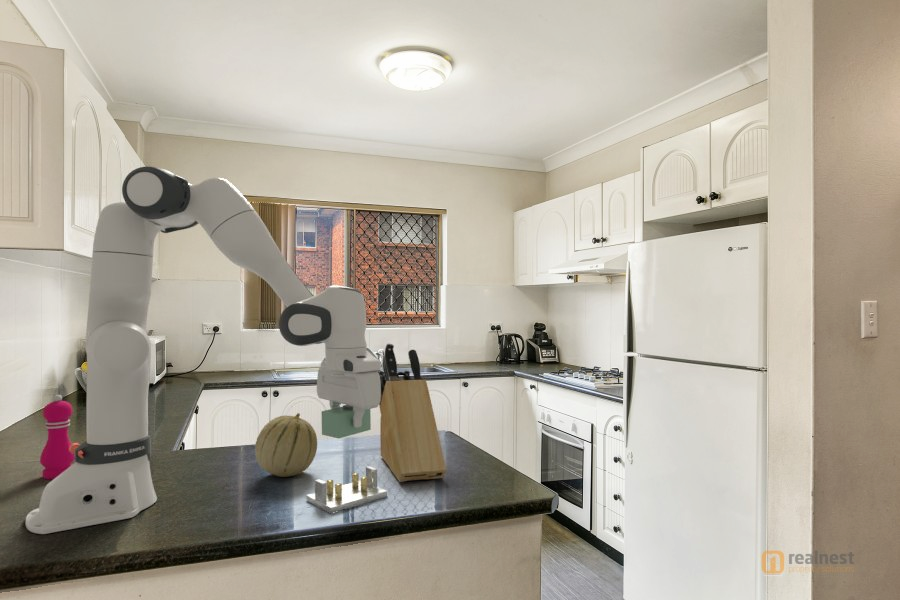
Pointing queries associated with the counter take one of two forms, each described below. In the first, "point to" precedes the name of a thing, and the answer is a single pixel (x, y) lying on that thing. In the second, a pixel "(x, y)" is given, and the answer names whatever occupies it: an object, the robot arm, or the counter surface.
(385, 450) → the knife block
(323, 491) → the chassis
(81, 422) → the counter surface
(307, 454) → the cantaloupe
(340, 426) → the green box
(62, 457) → the pepper mill
